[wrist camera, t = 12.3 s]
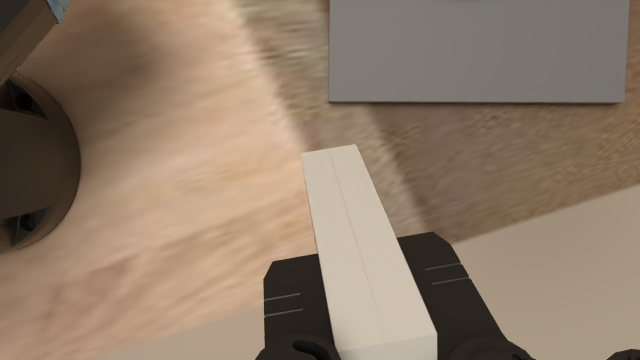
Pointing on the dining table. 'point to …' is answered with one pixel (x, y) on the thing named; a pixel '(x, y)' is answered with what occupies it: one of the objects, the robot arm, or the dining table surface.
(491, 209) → the dining table surface
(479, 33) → the plate
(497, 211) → the dining table surface
